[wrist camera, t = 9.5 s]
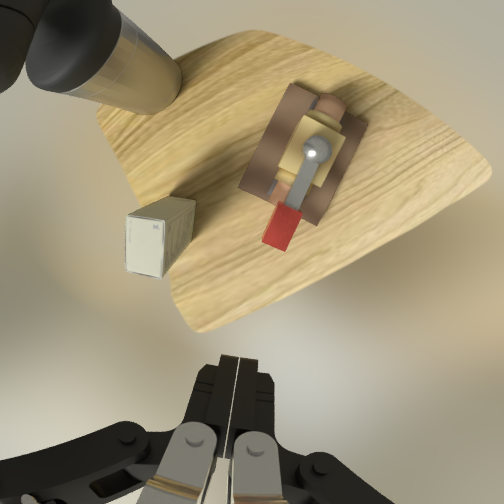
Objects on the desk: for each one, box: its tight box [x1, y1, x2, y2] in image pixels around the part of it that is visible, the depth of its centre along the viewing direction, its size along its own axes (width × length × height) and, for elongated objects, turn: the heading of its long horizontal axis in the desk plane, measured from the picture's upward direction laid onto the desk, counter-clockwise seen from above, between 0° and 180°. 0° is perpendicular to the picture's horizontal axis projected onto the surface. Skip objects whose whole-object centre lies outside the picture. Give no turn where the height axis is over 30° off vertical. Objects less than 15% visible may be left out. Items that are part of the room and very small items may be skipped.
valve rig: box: [238, 83, 368, 226], centre depth 29 cm, size 15×11×8 cm
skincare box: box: [125, 196, 196, 279], centre depth 31 cm, size 6×4×12 cm
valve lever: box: [262, 135, 332, 252], centre depth 25 cm, size 11×3×2 cm, turn 157°
